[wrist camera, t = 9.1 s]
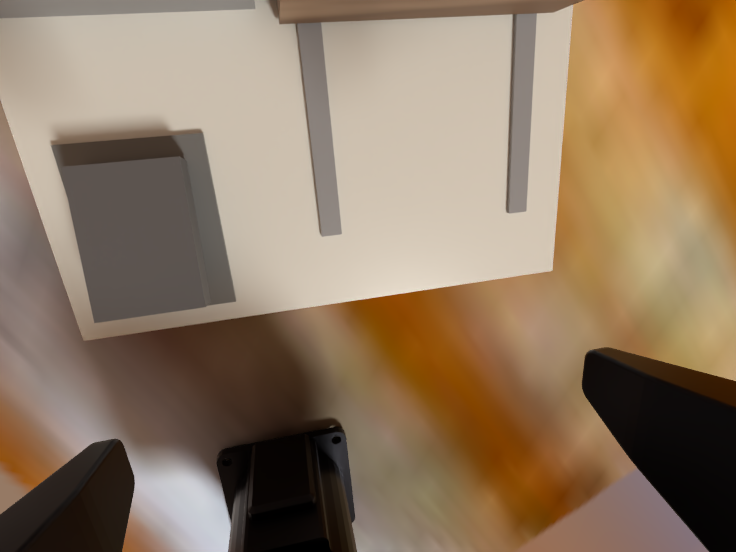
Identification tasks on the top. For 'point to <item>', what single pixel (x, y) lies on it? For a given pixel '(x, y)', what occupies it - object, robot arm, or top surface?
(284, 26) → the panel
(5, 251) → the top surface
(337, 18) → the slider bar
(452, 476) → the top surface
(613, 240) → the top surface
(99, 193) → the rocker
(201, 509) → the top surface
